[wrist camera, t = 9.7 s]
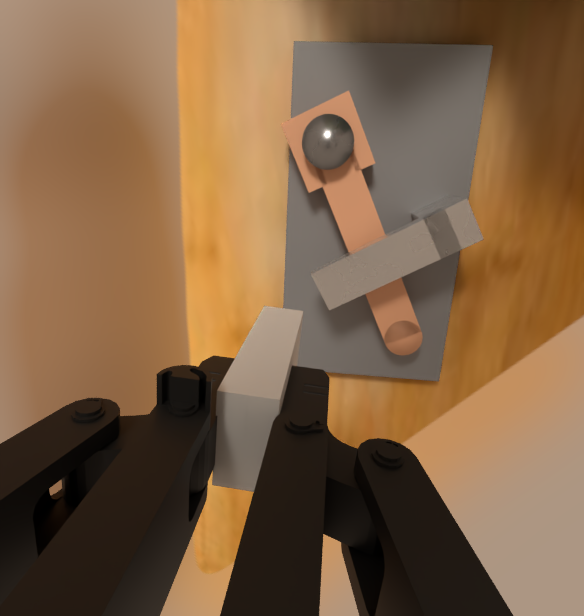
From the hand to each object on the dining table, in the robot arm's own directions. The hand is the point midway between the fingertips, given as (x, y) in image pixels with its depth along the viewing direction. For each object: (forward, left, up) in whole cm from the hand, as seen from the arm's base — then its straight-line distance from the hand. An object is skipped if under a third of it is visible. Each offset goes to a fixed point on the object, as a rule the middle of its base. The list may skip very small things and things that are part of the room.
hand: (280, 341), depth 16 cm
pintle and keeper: (-5, +2, -20) cm, 21 cm away
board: (-5, +3, -21) cm, 22 cm away
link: (-4, +3, -20) cm, 20 cm away
